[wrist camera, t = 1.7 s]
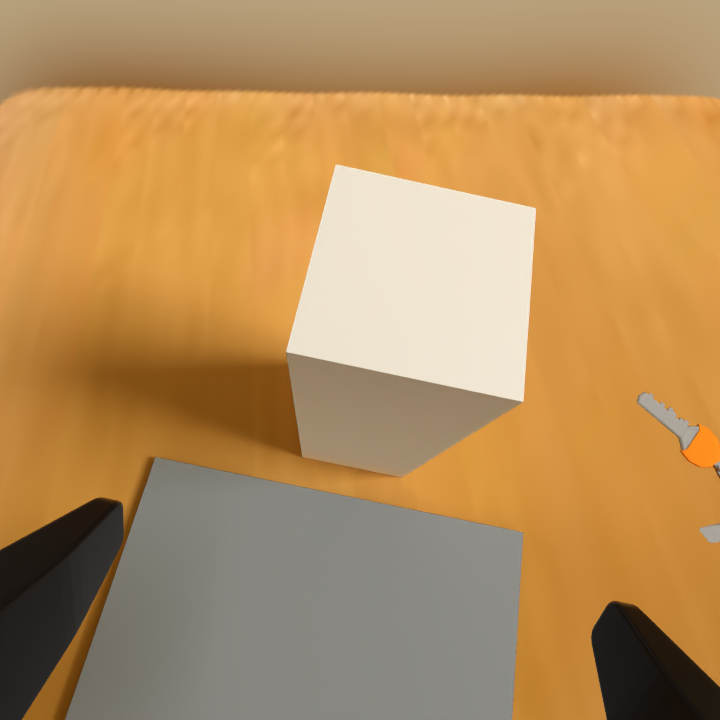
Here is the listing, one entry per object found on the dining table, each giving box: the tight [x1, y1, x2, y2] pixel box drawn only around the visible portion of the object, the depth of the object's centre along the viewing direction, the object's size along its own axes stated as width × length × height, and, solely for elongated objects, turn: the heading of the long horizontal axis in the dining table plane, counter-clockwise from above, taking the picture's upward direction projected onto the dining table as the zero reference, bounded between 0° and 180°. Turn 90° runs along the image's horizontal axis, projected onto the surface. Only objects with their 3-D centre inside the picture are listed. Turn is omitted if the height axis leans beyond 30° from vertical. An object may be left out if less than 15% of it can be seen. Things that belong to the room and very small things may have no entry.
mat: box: [65, 457, 523, 720], centre depth 17 cm, size 16×16×1 cm
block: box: [286, 164, 536, 478], centre depth 16 cm, size 4×4×13 cm
